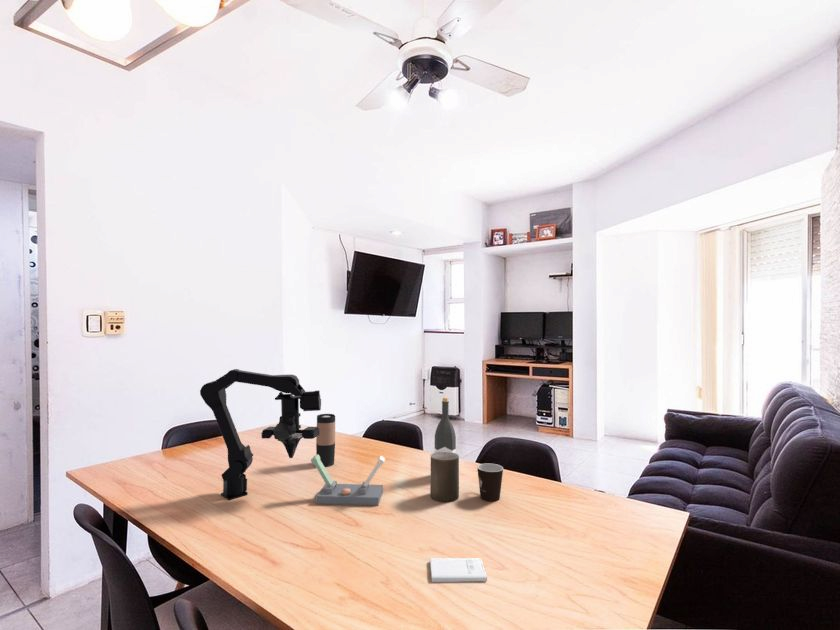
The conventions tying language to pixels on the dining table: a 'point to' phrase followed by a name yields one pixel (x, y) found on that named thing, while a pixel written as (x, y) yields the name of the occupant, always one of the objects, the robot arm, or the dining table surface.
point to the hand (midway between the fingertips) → (291, 457)
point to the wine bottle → (445, 431)
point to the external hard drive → (457, 569)
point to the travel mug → (326, 439)
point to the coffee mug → (490, 481)
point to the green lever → (323, 471)
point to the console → (350, 495)
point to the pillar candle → (444, 476)
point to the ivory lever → (373, 472)
